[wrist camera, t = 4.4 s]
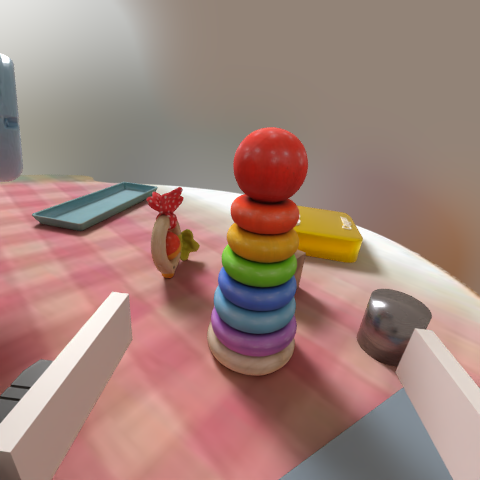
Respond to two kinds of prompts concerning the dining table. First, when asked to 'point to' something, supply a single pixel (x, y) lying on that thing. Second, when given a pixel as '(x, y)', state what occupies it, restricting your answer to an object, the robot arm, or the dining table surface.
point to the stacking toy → (260, 257)
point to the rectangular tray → (94, 206)
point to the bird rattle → (169, 233)
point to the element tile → (328, 235)
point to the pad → (378, 449)
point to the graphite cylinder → (391, 324)
